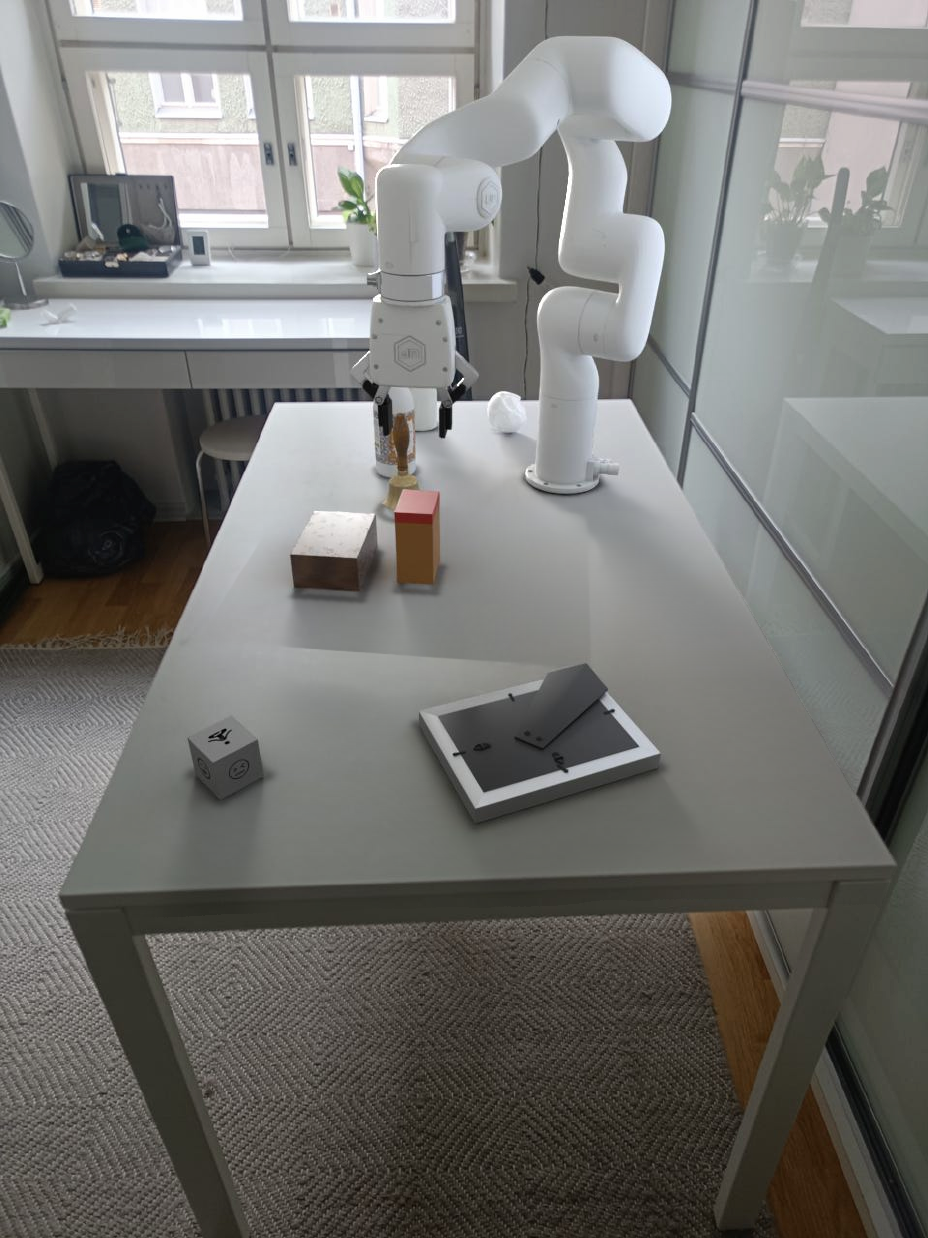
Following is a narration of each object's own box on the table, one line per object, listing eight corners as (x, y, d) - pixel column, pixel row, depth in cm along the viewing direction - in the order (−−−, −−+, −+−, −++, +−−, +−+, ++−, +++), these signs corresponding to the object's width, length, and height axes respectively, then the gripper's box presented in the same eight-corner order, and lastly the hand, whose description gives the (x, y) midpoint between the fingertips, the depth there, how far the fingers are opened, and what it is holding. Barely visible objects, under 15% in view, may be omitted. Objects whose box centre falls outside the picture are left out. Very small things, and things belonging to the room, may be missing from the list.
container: (429, 580, 126) (480, 519, 120) (422, 606, 121) (475, 543, 114) (365, 538, 124) (414, 473, 117) (355, 563, 118) (406, 496, 112)
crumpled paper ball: (526, 439, 165) (528, 399, 161) (486, 438, 166) (487, 398, 161) (525, 424, 172) (527, 385, 168) (487, 423, 172) (488, 384, 168)
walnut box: (378, 553, 128) (375, 513, 125) (359, 600, 118) (357, 558, 114) (318, 549, 129) (314, 510, 125) (294, 596, 118) (289, 554, 115)
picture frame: (584, 682, 103) (418, 725, 96) (586, 662, 101) (418, 705, 95) (658, 768, 91) (474, 824, 84) (661, 747, 89) (475, 803, 83)
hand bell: (370, 516, 138) (364, 420, 129) (391, 495, 145) (387, 402, 136) (418, 525, 136) (416, 427, 127) (438, 503, 142) (437, 408, 133)
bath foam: (388, 482, 149) (383, 365, 138) (369, 468, 154) (362, 354, 143) (423, 473, 152) (421, 358, 141) (403, 459, 157) (399, 348, 146)
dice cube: (238, 751, 92) (231, 715, 90) (263, 776, 89) (257, 739, 87) (195, 774, 90) (187, 737, 87) (220, 800, 87) (212, 762, 84)
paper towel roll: (443, 427, 170) (442, 315, 158) (417, 434, 167) (414, 320, 155) (423, 416, 175) (421, 306, 163) (397, 422, 172) (393, 311, 160)
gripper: (330, 290, 98) (341, 441, 108) (484, 295, 97) (481, 448, 107) (345, 275, 104) (354, 419, 114) (489, 280, 103) (486, 425, 113)
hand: (415, 432), depth 110 cm, fingers open, 6 cm apart
